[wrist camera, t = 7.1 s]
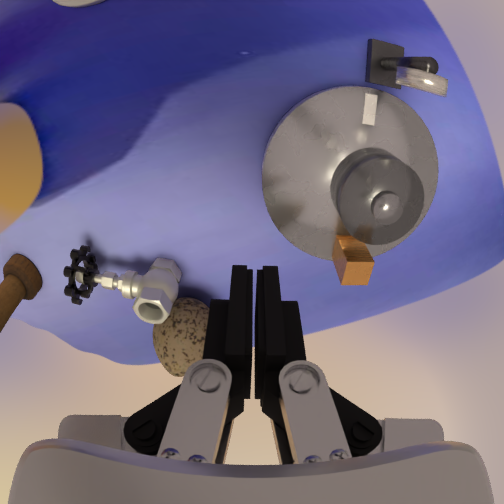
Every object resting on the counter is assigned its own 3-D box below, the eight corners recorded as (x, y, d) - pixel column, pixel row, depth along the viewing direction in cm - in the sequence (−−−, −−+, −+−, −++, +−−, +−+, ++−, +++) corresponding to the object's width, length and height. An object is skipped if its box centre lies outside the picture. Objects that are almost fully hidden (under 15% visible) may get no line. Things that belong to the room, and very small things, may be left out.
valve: (184, 248, 30) (84, 233, 29) (170, 290, 25) (56, 268, 24) (183, 294, 34) (93, 278, 33) (172, 337, 29) (71, 315, 28)
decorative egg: (211, 330, 37) (202, 397, 29) (158, 315, 36) (139, 380, 28) (228, 293, 34) (221, 366, 25) (168, 275, 32) (144, 345, 24)
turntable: (265, 75, 19) (268, 75, 15) (443, 106, 19) (480, 119, 15) (258, 250, 28) (258, 288, 24) (407, 254, 28) (428, 288, 24)
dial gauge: (364, 39, 18) (414, 28, 11) (401, 48, 18) (460, 47, 11) (362, 80, 20) (410, 88, 13) (398, 89, 20) (455, 103, 13)
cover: (340, 139, 21) (357, 154, 17) (414, 157, 21) (440, 176, 18) (322, 217, 25) (332, 245, 21) (391, 228, 25) (410, 254, 21)
